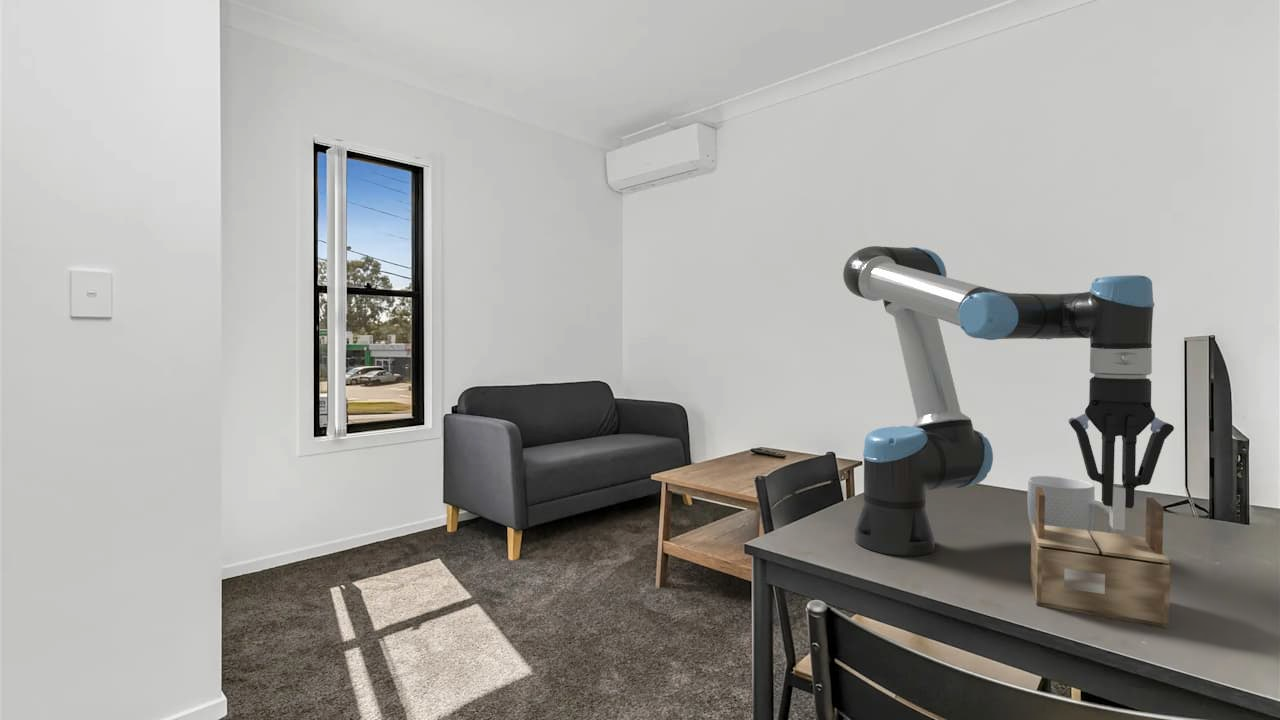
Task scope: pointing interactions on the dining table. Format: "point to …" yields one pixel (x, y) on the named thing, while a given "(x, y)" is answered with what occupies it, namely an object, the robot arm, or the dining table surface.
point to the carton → (1101, 584)
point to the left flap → (1059, 532)
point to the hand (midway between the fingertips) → (1117, 527)
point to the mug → (1065, 502)
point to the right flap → (1137, 538)
